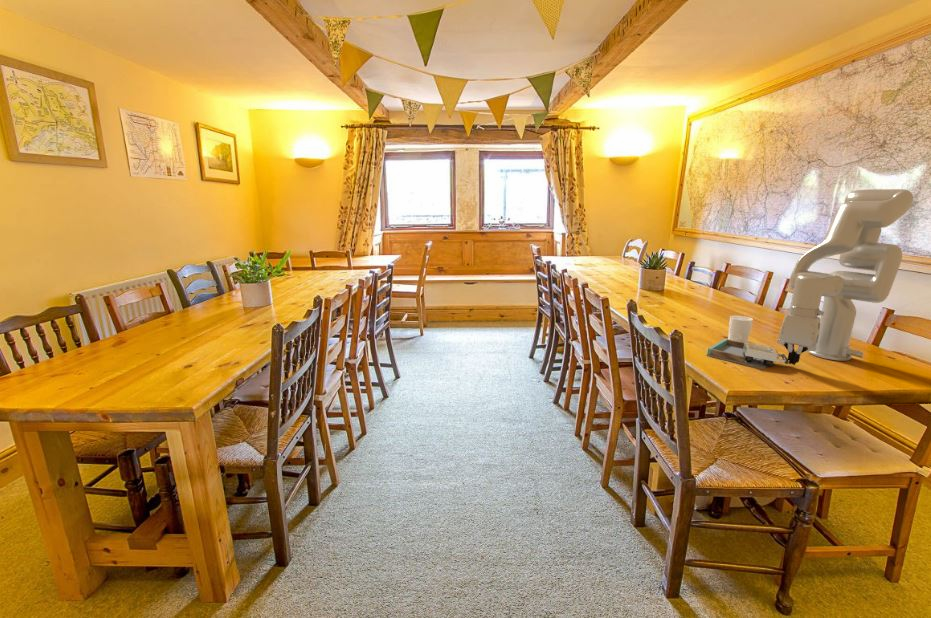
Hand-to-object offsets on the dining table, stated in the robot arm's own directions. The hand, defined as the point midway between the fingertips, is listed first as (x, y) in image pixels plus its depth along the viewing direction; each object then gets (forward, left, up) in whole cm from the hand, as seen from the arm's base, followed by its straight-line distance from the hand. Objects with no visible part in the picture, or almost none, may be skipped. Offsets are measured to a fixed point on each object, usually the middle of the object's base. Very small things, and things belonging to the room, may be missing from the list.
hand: (792, 363), depth 147 cm
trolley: (+8, +3, -1) cm, 8 cm away
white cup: (+22, -18, -2) cm, 28 cm away
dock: (+15, 0, -2) cm, 15 cm away
